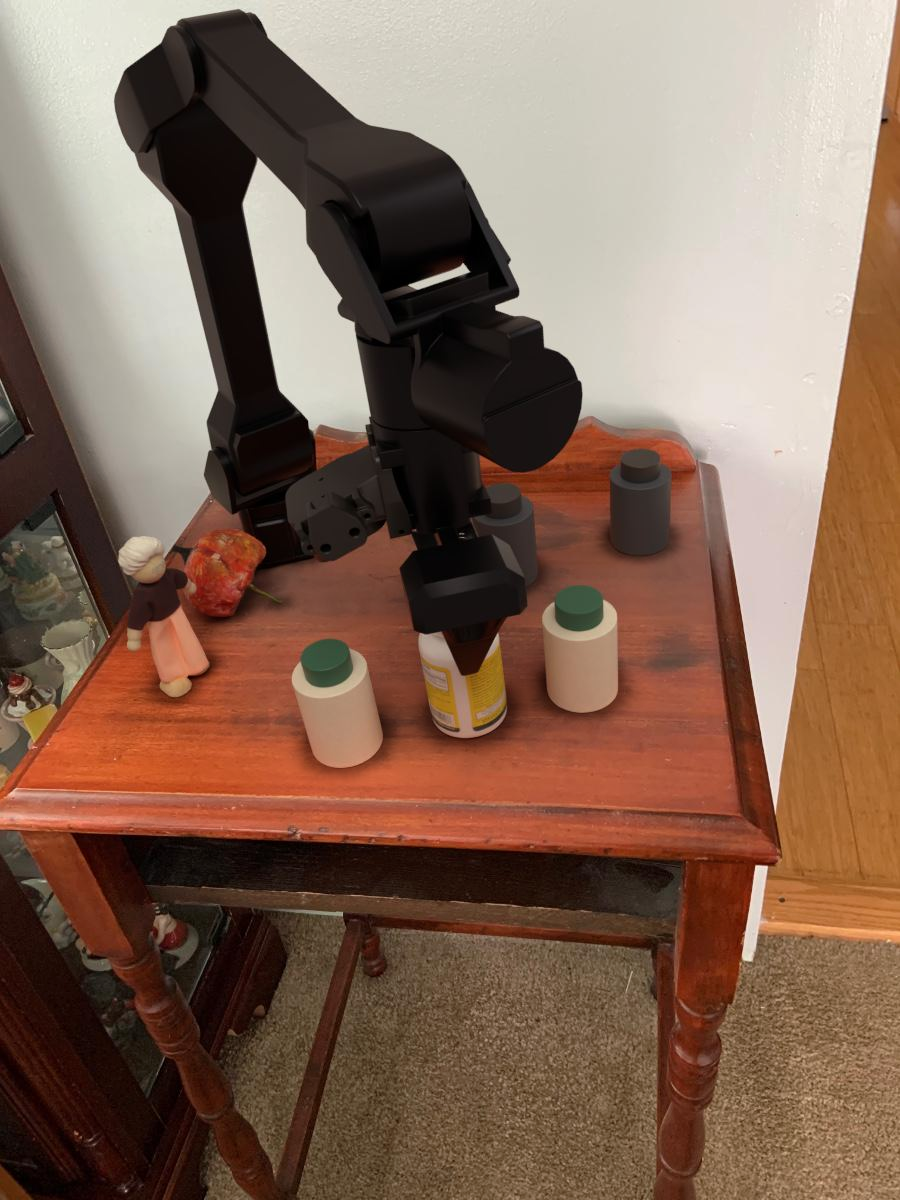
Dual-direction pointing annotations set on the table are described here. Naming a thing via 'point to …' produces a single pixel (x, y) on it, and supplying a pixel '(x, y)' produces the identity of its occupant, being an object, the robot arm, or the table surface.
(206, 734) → the table surface
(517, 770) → the table surface
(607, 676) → the cream bottle
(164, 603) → the grandmother figurine
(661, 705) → the table surface
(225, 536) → the red orange flower
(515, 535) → the grey bottle left
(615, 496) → the grey bottle right
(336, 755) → the cream bottle
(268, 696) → the table surface
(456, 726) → the supplement bottle
